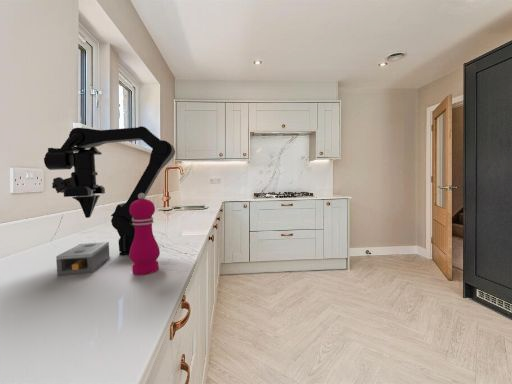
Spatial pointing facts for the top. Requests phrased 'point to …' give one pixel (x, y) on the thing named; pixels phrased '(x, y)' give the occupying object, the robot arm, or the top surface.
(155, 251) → the pepper mill
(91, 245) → the lid
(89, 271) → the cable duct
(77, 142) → the robot arm
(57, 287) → the top surface
